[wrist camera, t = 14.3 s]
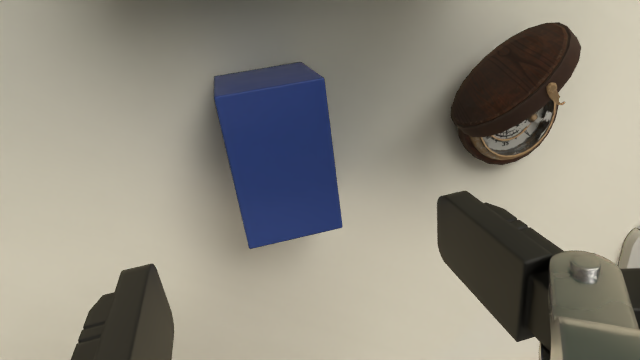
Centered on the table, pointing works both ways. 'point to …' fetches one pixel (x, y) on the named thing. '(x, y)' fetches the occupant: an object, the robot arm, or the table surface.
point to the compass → (515, 93)
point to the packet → (279, 151)
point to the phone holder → (631, 251)
